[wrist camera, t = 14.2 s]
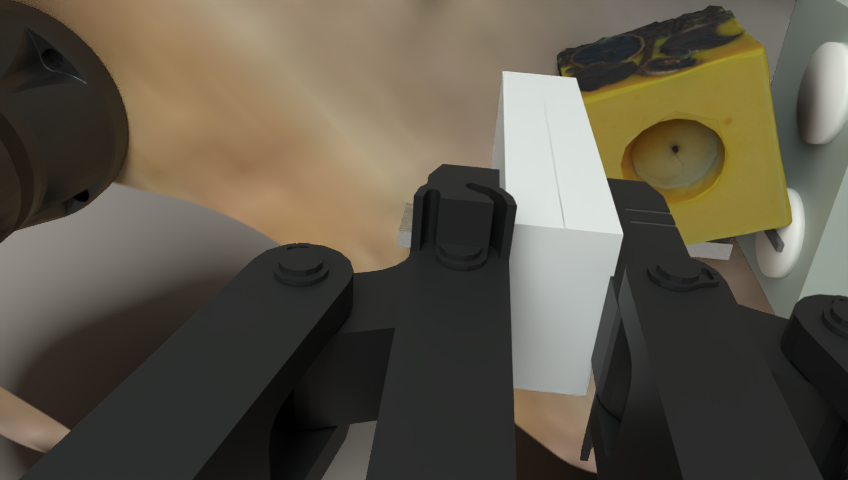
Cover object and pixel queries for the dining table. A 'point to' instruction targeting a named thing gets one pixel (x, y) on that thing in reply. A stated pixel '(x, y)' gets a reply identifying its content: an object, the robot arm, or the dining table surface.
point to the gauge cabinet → (809, 161)
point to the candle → (688, 121)
